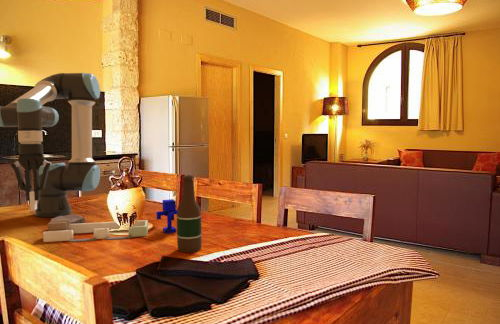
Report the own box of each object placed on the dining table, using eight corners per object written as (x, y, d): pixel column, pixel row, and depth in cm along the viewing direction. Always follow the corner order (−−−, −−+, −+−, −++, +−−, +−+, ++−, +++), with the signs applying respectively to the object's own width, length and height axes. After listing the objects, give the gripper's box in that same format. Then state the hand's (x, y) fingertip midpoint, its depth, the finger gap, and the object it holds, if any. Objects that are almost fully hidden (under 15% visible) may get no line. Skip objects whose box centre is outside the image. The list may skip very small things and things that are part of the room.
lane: (51, 234, 150) (51, 224, 149) (148, 228, 157) (147, 220, 157) (43, 242, 139) (42, 232, 139) (146, 236, 147) (146, 226, 146)
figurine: (155, 233, 150) (154, 201, 149) (166, 228, 157) (165, 198, 156) (173, 235, 148) (172, 202, 147) (183, 230, 155) (182, 199, 154)
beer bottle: (178, 246, 134) (177, 174, 132) (202, 245, 135) (200, 174, 133) (176, 253, 126) (174, 177, 124) (201, 252, 127) (200, 177, 125)
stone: (59, 233, 152) (58, 220, 152) (46, 230, 157) (45, 218, 157) (87, 226, 162) (86, 215, 161) (74, 224, 167) (73, 212, 166)
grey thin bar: (71, 240, 141) (71, 239, 141) (130, 237, 145) (130, 236, 145) (69, 242, 139) (69, 241, 139) (129, 238, 143) (129, 237, 143)
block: (53, 235, 148) (52, 219, 147) (70, 234, 149) (69, 219, 149) (48, 240, 142) (47, 223, 141) (66, 239, 143) (66, 222, 143)
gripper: (6, 143, 136) (9, 212, 137) (47, 143, 139) (50, 210, 140) (14, 143, 143) (17, 208, 145) (53, 142, 146) (56, 207, 148)
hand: (33, 209), depth 143 cm, fingers closed
